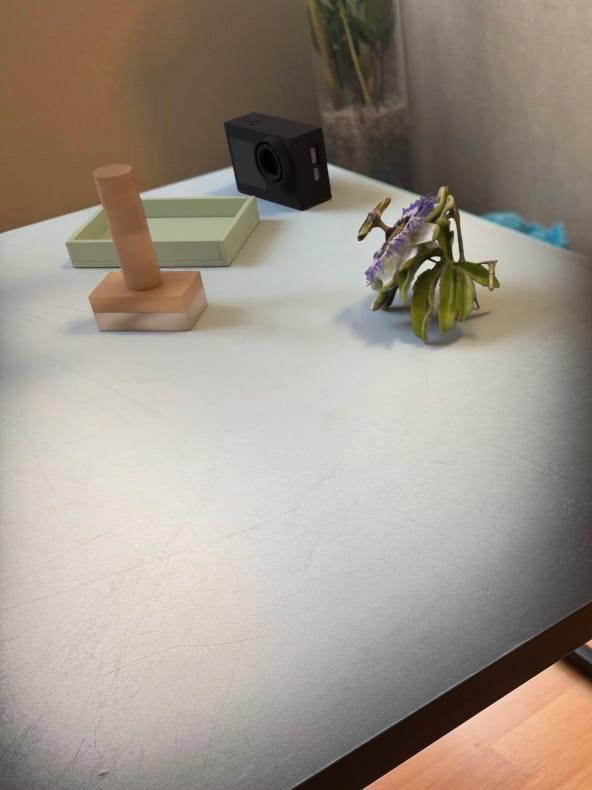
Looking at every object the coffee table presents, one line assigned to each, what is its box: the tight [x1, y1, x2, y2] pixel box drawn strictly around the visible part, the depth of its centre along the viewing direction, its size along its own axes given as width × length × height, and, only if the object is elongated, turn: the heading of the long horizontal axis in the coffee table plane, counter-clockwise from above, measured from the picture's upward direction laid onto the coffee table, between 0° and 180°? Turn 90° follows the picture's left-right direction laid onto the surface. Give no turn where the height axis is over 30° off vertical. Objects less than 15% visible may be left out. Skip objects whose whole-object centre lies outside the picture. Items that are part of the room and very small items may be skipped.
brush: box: [87, 163, 209, 332], centre depth 82 cm, size 8×5×12 cm, turn 84°
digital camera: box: [223, 111, 333, 211], centre depth 104 cm, size 10×5×7 cm, turn 50°
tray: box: [64, 195, 261, 268], centre depth 97 cm, size 15×11×2 cm
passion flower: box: [356, 185, 501, 345], centre depth 82 cm, size 11×11×12 cm
